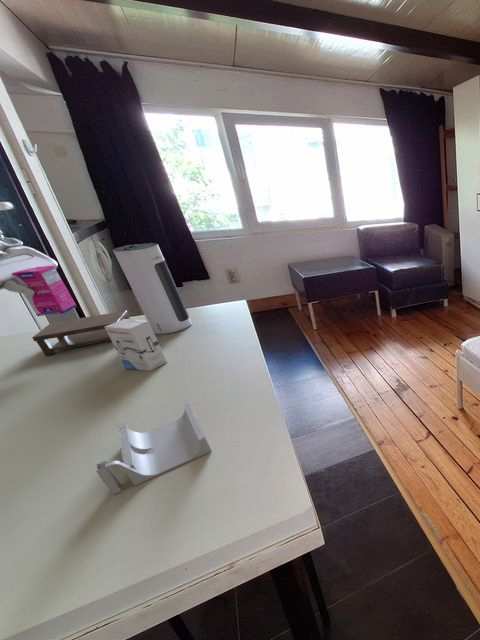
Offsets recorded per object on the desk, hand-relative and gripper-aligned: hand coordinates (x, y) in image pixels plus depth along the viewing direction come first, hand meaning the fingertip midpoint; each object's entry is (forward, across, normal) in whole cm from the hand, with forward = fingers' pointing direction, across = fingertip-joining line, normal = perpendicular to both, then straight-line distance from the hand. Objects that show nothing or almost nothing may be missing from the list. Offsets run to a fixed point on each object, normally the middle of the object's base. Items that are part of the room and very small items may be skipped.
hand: (47, 289), depth 94 cm
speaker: (+24, +14, +2) cm, 28 cm away
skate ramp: (+45, -49, -19) cm, 70 cm away
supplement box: (+4, 0, +5) cm, 6 cm away
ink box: (+30, -13, -3) cm, 32 cm away
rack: (+10, +9, +16) cm, 21 cm away
